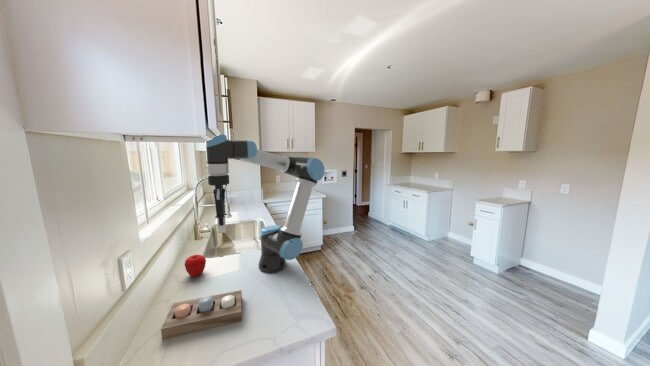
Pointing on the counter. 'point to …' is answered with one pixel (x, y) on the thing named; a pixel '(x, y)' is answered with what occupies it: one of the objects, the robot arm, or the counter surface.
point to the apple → (195, 265)
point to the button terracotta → (182, 311)
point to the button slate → (205, 304)
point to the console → (202, 316)
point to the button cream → (228, 301)
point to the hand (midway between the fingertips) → (222, 232)
